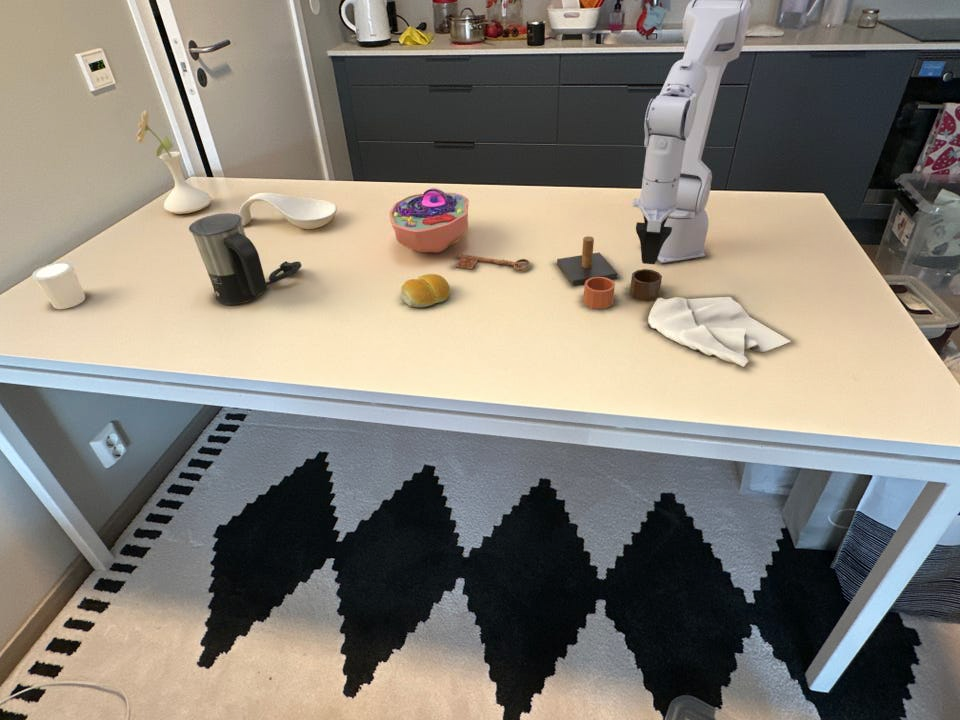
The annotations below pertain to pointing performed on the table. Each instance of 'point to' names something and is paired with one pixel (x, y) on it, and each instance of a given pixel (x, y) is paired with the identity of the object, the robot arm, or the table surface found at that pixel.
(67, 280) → the white short cylinder
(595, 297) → the terracotta ring
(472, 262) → the key
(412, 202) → the cell model
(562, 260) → the peg stand
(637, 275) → the walnut ring
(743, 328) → the cloth
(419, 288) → the bread roll
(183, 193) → the flower in vase
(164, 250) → the table surface
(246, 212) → the spoon rest
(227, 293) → the milk frother
